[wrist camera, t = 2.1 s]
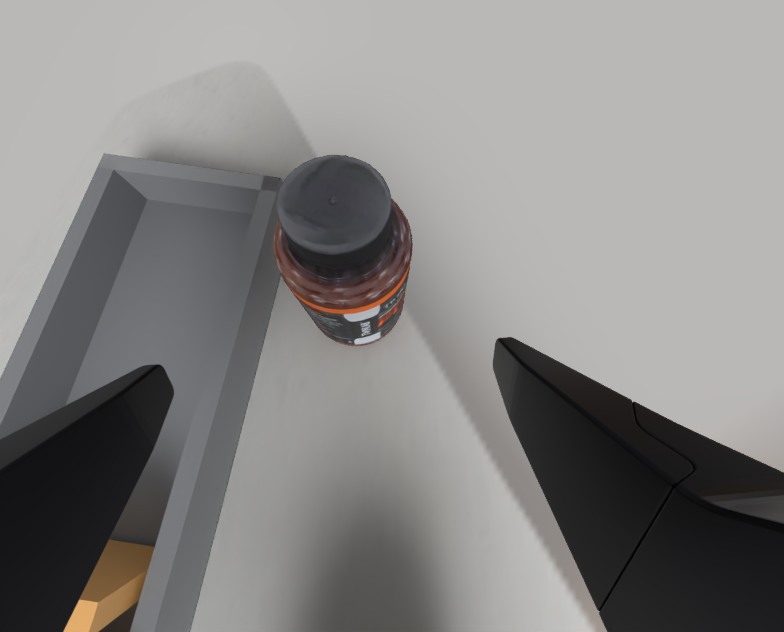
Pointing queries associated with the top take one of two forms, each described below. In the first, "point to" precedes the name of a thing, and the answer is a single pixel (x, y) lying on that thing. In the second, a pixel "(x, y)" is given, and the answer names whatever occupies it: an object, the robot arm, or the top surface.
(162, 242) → the tray
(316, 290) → the supplement bottle
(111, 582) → the pusher
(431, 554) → the top surface
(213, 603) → the top surface
